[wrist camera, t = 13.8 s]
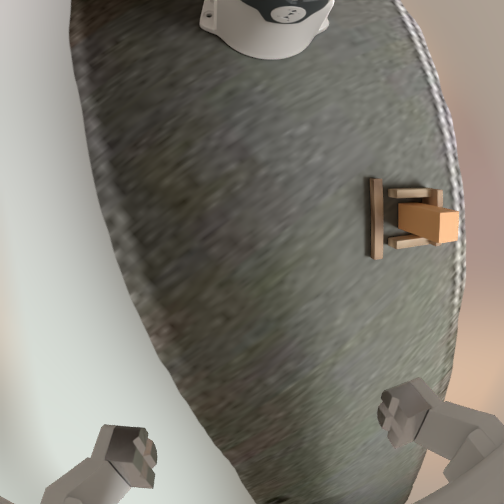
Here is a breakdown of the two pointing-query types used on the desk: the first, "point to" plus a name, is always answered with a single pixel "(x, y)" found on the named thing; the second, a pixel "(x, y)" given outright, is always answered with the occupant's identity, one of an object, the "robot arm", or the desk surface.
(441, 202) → the index bracket
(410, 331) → the desk surface
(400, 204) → the block
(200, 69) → the desk surface
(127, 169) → the desk surface
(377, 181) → the door edge strip
